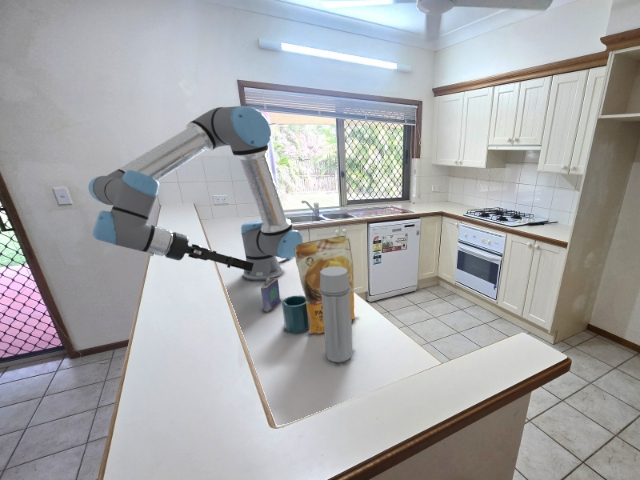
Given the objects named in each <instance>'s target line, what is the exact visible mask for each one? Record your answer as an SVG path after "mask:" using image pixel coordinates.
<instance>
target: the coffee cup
mask: <svg viewBox="0 0 640 480" xmlns="http://www.w3.org/2000/svg"><path fill="white" fill-rule="evenodd" d="M281 305H282V306H281V308H282V315H283V322H284V329H285V331H286V332H288V333H292V334H299V333H304V332H306V331H309V329H310V319H309V314H308V311H307V305H306V298H305V295H291V296H288V297H285V298H284V299H283V300H282V301H281Z"/></svg>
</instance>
